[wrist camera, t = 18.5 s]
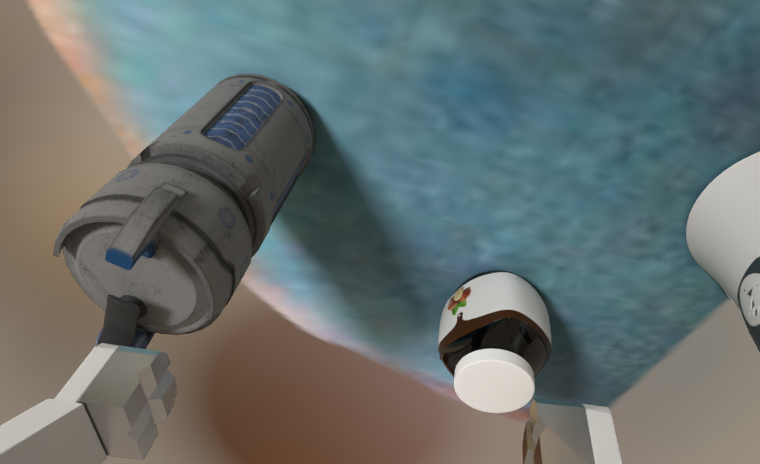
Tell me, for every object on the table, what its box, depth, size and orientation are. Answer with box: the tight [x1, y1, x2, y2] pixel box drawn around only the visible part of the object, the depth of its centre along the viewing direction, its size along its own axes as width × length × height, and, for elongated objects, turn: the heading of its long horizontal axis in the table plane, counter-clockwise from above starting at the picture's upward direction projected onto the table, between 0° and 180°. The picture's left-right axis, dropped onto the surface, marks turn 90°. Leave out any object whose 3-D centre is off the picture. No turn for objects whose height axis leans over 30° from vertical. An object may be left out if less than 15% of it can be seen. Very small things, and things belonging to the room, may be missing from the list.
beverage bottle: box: [53, 74, 315, 349], centre depth 40 cm, size 10×13×25 cm
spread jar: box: [438, 270, 552, 413], centre depth 54 cm, size 12×11×12 cm
